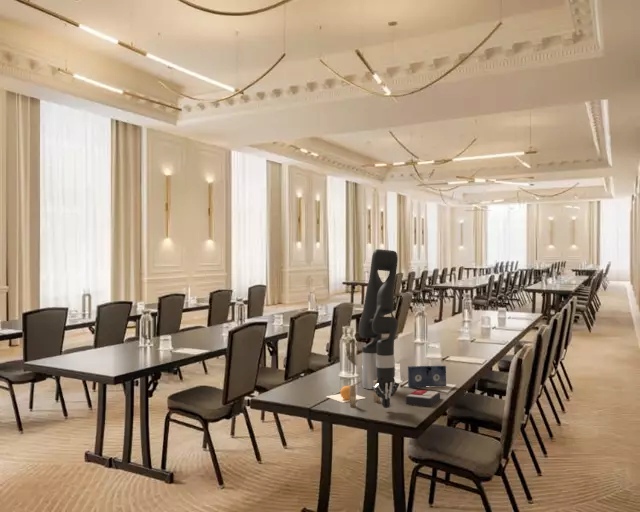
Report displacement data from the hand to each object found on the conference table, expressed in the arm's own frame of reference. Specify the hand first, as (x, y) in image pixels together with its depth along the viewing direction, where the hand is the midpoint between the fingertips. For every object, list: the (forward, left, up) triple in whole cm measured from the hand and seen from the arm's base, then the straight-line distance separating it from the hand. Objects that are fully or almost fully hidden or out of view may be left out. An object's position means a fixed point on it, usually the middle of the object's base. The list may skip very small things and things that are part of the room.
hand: (386, 407), depth 232 cm
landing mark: (-28, 0, -2) cm, 28 cm away
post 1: (-14, -7, -2) cm, 16 cm away
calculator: (-2, +23, -2) cm, 23 cm away
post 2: (-14, +6, -2) cm, 16 cm away
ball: (-25, -1, +2) cm, 25 cm away
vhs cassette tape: (-21, +44, -2) cm, 49 cm away
